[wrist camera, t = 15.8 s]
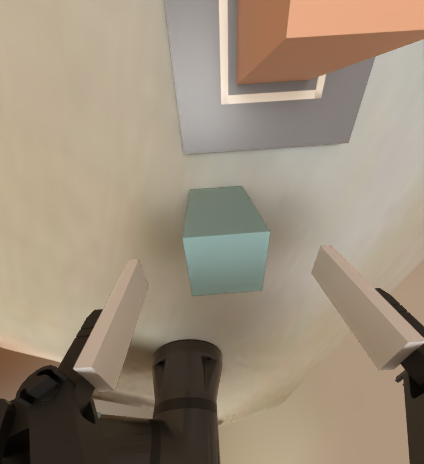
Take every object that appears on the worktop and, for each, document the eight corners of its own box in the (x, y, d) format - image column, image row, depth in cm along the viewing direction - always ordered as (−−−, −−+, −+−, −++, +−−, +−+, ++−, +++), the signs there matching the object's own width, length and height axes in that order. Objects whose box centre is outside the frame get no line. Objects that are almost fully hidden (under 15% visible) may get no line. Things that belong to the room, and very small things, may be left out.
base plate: (338, 141, 19) (348, 143, 18) (184, 151, 19) (183, 154, 17) (426, -170, 10) (459, -211, 9) (146, -159, 10) (138, -200, 9)
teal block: (240, 230, 24) (262, 290, 16) (195, 233, 24) (192, 296, 15) (241, 185, 21) (270, 231, 12) (189, 189, 21) (182, 238, 12)
